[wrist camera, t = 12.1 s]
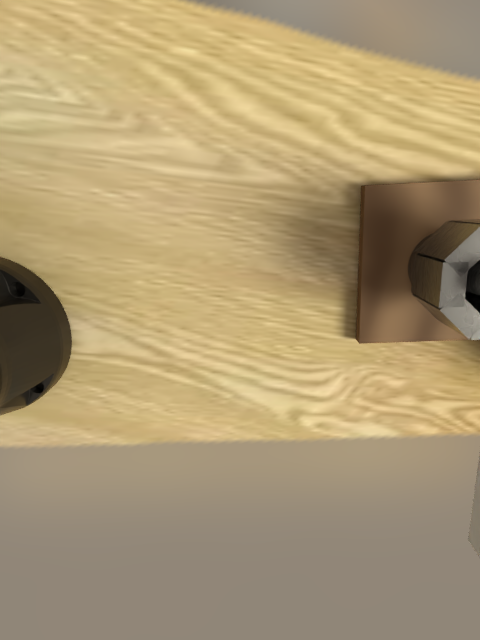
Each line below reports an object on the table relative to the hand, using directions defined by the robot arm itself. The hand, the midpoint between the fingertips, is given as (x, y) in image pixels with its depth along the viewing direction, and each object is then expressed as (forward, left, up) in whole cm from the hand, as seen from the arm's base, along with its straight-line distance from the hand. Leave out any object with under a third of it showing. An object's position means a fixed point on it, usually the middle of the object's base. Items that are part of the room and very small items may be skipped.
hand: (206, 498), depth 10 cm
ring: (+18, +1, -24) cm, 30 cm away
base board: (+18, +1, -29) cm, 34 cm away
